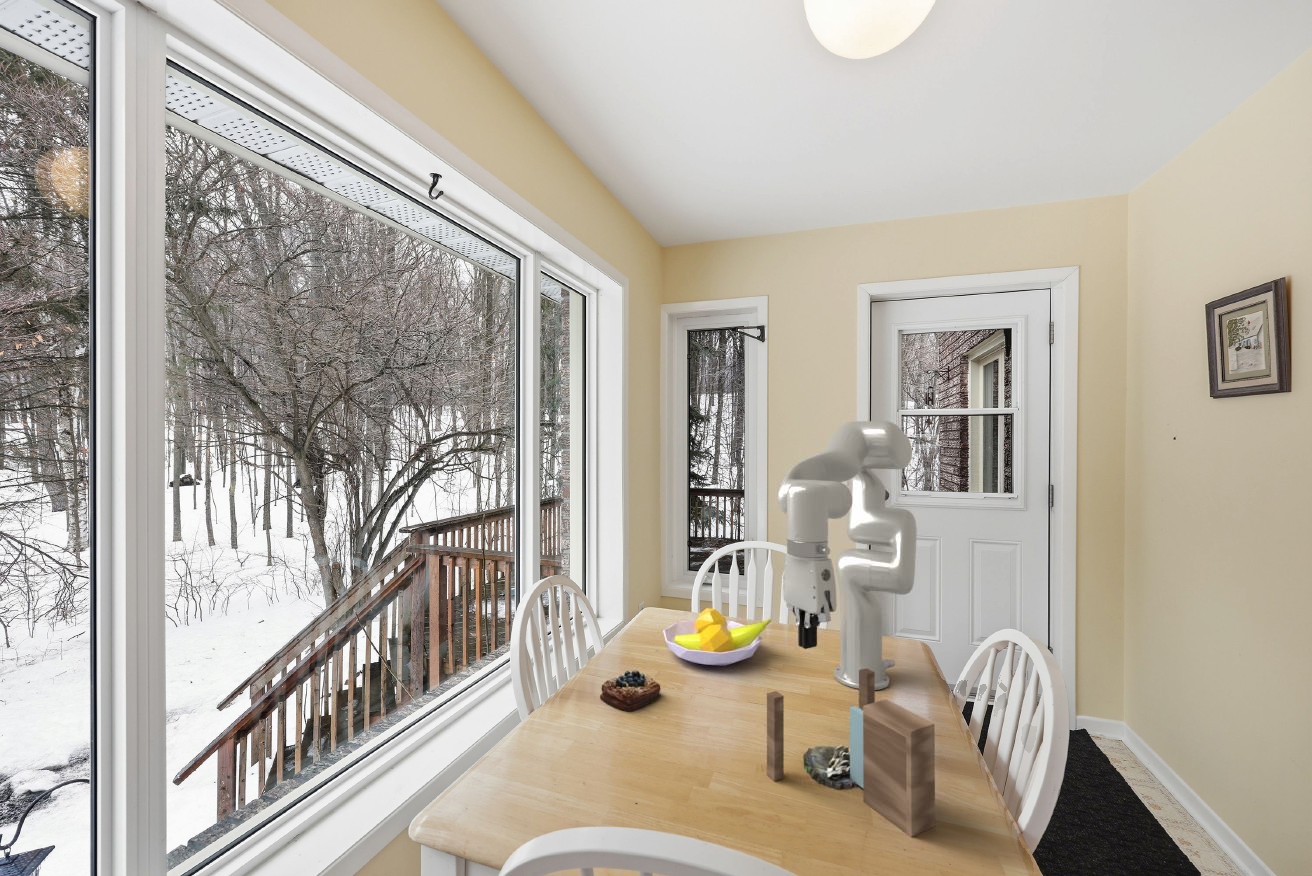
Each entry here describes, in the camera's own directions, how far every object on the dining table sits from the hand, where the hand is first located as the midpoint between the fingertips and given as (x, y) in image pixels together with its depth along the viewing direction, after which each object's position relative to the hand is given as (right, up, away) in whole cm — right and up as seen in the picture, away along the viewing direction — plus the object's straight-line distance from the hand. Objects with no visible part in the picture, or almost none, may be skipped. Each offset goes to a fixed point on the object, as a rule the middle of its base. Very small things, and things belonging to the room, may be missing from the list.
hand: (807, 646), depth 102 cm
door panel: (+7, -19, -15) cm, 25 cm away
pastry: (-34, -20, +20) cm, 44 cm away
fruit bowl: (-13, -20, +44) cm, 50 cm away
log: (+3, -20, -7) cm, 21 cm away
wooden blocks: (+6, -19, -13) cm, 24 cm away
